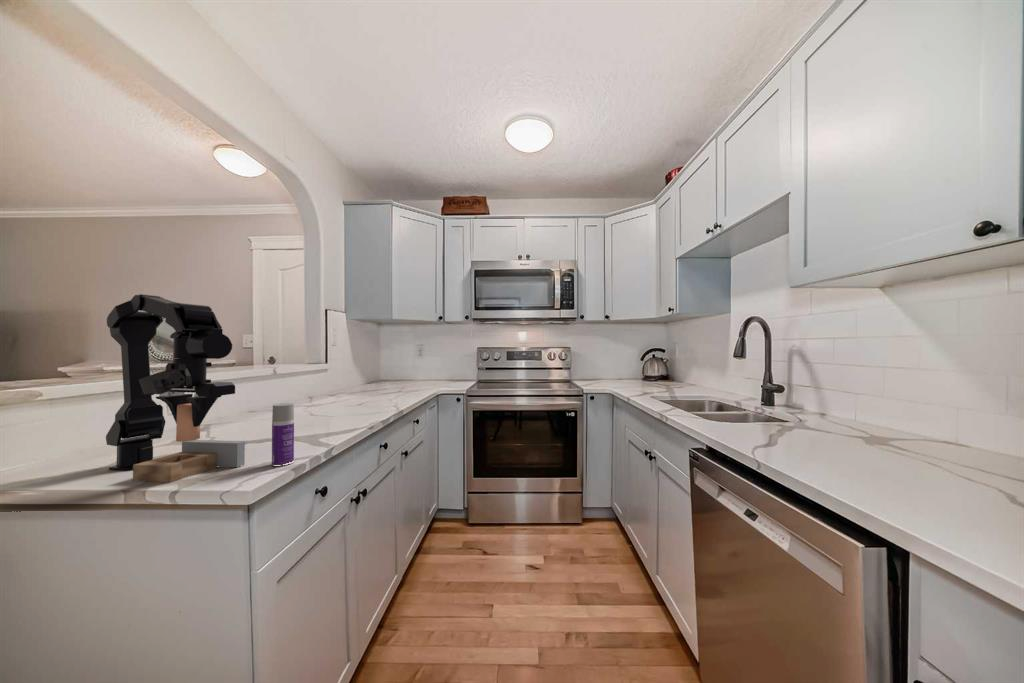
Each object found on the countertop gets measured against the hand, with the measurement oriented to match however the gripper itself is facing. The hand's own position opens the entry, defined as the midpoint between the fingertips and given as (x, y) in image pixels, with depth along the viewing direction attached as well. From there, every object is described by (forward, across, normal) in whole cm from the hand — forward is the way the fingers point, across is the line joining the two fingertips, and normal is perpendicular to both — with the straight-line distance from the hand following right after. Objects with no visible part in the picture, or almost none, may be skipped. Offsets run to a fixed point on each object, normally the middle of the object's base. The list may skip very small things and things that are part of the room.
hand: (188, 426), depth 79 cm
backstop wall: (+12, -2, +8) cm, 14 cm away
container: (+12, +15, +11) cm, 22 cm away
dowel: (+3, 0, 0) cm, 3 cm away
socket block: (+12, -5, +2) cm, 13 cm away
